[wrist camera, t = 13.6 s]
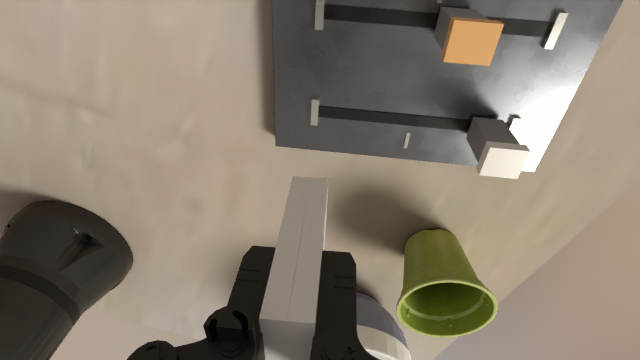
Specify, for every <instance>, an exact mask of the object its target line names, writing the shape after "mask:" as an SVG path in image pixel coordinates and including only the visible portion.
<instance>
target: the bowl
mask: <svg viewBox="0 0 640 360" xmlns="http://www.w3.org/2000/svg"><path fill="white" fill-rule="evenodd" d="M356 304H357V334H358V338H359V341H360V343H361V344H362V346H363V347H364V349H365V350H366V351H367V352H369V353H370V354H371V355H373V356H374V357H376V358H378V359H380V360H411V356H410V354H409V350H408V347H407V344H406V340H405V337H404V335H403V332H402V331H401V329H400V328H399V326H398V325H397V323H396V322H395V320H394V319H393V317H392V316H391V315H390V313H389V312H388V311H386V310H385V309H384V308H382V307H381V306H380V305H379V303H378V302H377V301H376V300H374V299H373V298H371V297H369V296H367V295H365V294H361V293H357V292H356Z"/></svg>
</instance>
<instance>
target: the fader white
mask: <svg viewBox="0 0 640 360" xmlns="http://www.w3.org/2000/svg"><path fill="white" fill-rule="evenodd" d="M466 139H467V141H468V143H469V145H470V147H471V150H472V152H473V154H474V156H475V158H476V160H477V162H478V164H477V167H476V169H477V172H478V174H479V175H484V176H493V177H503V178H513V179H518V177H519V175H520V173H521V171H522V169H523V167H524V164H525V162H526V160H527V158H528V156H529V154H530V152H531V151H530V150H529V148H528V147H527V146H526V145H521V144H520V143H519V142H518V141H517V139H516V138H515V136H514V135H513V133H512V132H511V131H510V129H509V128H508V126H507V125H506V124H505V122H504V121H503V120H500V119H490V118H479V117H473V119H472V122H471V125H470V128H469V131H468V134H467V136H466Z"/></svg>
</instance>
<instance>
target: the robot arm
mask: <svg viewBox="0 0 640 360" xmlns="http://www.w3.org/2000/svg"><path fill="white" fill-rule="evenodd" d="M328 180H329V179H323V178H309V177H294V176H293V178H292V182H291V187H290V191H289V195H288V199H287V203H286V208H285V212H284V216H283V220H282V224H281V229H280V233H279V237H278V241H277V245H276V248H274V247H261V246H252V247H251V248H250V249H249V251H248V252H247V253H246V254H245V255H244V256H243V259H242V262H241V265H240V268H239V271H238V274H237V277H236V282H235V283H234V286H233V289H232V292H231V295H230V298H229V301H228V304H227V306H226V307H223V308H221V309H219V310H216V311H215V312H214V313H213V314H211V315H210V316H209V317H208V319H207V320H206V322H205V324H204V325H203V326H204V330H205V333H206V336H207V338H205V339H203V340H201V341H198V342H195V343H191V344H187V345H182V346H178V347H173V346H172V345H171V344H169V343H168V342H166V341H158V340H157V341H153V342H148V343H146V344H145V345H143V346H141V347H139V348H138V349H137V350H135V352H134V353H132V355H131V356H129V358H128V359H127V360H380V359H378V358H376V357H374V356H373V355H371V354H370V353H369V352H367V351H366V350H365V349H364V347H363V346H362V344H361V343H360V341H359V338H358V334H357V304H356V263H355V261H354V259H353V257H352V256H351V254H350V253H348V252H335V251H324V242H325V230H326V215H327V197H328ZM132 264H133V255H132V252H131V249H130V247H129V245H128V244H127V242H126V241H125V239H124V238H123V237H122V236H121V235H120V234H119V232H118V231H116V230H115V229H114V228H113V227H112V226H111V225H109V224H108V223H107V222H105V221H104V220H102V219H101V218H99V217H98V216H96V215H94V214H92V213H90V212H88V211H86V210H84V209H81V208H79V207H76V206H73V205H70V204H66V203H61V202H54V201H41V202H35V203H32V204H29V205H27V206H26V207H25V208H23V209H22V210H21V211H20V212H19V213H17V214H16V215H15V216H14V217H13V218H12V219H11V220H10V221H9V222H8V224H7V226H6V227H5V230H4V235H3V236H2V238H1V239H0V360H49V359H50V358H51V357H52V355H53V354H54V352H55V351H56V350H57V348H58V347H59V345H60V344H61V343H62V341H63V339H64V338H65V337H66V336H67V334H68V333H69V331H70V330H71V329H72V327H73V326H74V324H75V323H76V322H77V320H78V319H79V318H80V316H81V315H82V314H83V313H84V312H85V311H86V310H87V309H89V308H90V307H91V306H92V305H93V304H95V303H96V302H97V301H98V300H100V299H101V298H102V297H103V296H104V295H105V294H107V293H108V292H109V291H110V290H112V289H114V288H115V287H117V286H118V285H119V284H120V283H121V282H122V281H123V279H124V278H125V277H126V275H127V274H128V272H129V271H130V269H131V267H132Z"/></svg>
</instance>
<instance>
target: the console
mask: <svg viewBox="0 0 640 360" xmlns="http://www.w3.org/2000/svg"><path fill="white" fill-rule="evenodd" d="M622 2H623V0H272V26H273V64H274V102H275V140H276V146H280V147H290V148H300V149H310V150H320V151H330V152H340V153H350V154H360V155H370V156H380V157H390V158H400V159H410V160H419V161H429V162H439V163H449V164H459V165H469V166H477V164H478V162H477V160H476V158H475V156H474V154H473V152H472V150H471V147H470V145H469V143H468V141H467V139H466V136H467V134H468V131H469V128H470V125H471V122H472V119H473V117H479V118H490V119H500V120H503V121H504V122H505V124H506V125H507V126H508V128H509V129H510V131H511V132H512V133H513V135H514V136H515V138H516V139H517V141H518V142H519V143H520V144H521V145H526V146H527V147H528V148H529V150H530V151H531V152H530V154H529V156H528V158H527V160H526V162H525V164H524V167H523V169H522V171H529V172H534V171H535V169H536V167H537V165H538V163H539V162H540V160H541V158H542V156H543V154H544V152H545V150H546V148H547V146H548V144H549V142H550V140H551V138H552V137H553V135H554V133H555V131H556V129H557V127H558V125H559V123H560V121H561V119H562V117H563V115H564V113H565V111H566V110H567V108H568V106H569V104H570V102H571V100H572V98H573V96H574V94H575V92H576V90H577V88H578V86H579V85H580V83H581V81H582V79H583V77H584V75H585V73H586V71H587V69H588V67H589V65H590V63H591V61H592V60H593V58H594V56H595V54H596V52H597V50H598V48H599V46H600V44H601V42H602V40H603V38H604V36H605V35H606V33H607V31H608V29H609V27H610V25H611V23H612V21H613V19H614V17H615V15H616V13H617V11H618V9H619V8H620V6H621V4H622ZM441 7H451V8H463V9H476V10H477V11H478V12H480V13H481V14H482V15H484V16H485V17H486V18H487V19H489V20H498V21H500V22H502V23H503V24H504V26H503V29H502V32H501V35H500V38H499V40H498V43H497V46H496V49H495V52H494V55H493V58H492V61H491V63H490V66H483V65H472V64H460V63H448V62H443V61H442V59H441V55H442V49H441V48H440V46H439V44H438V43H437V41H436V40H435V38H434V33H435V29H436V25H437V20H438V16H439V12H440V8H441Z"/></svg>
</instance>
